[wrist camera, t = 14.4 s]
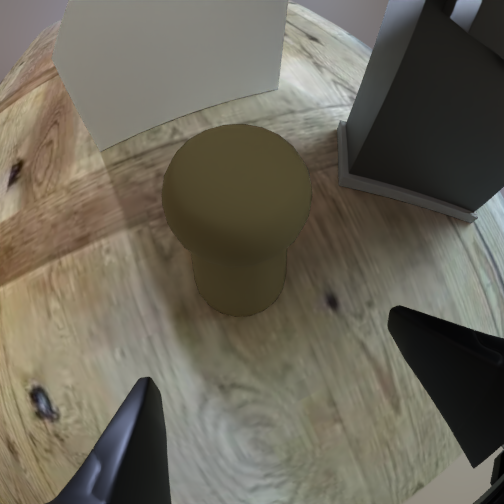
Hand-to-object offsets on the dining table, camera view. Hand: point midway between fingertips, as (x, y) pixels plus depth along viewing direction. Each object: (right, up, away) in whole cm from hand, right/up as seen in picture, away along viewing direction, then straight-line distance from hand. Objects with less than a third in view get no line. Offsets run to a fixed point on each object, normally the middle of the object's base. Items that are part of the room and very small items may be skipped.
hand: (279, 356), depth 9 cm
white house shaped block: (-10, +23, +17) cm, 31 cm away
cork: (-2, +2, +9) cm, 10 cm away
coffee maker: (+14, +10, +13) cm, 21 cm away
